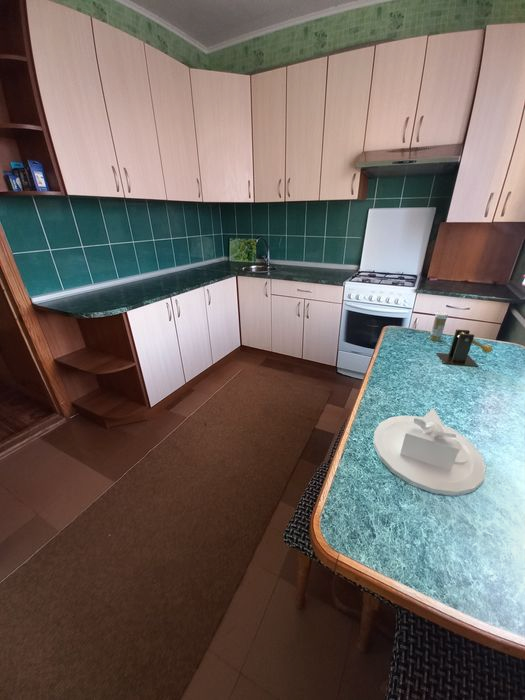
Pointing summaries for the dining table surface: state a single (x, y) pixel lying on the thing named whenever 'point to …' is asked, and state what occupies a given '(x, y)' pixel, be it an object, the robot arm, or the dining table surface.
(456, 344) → the dark grey stand
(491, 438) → the dining table surface
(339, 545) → the dining table surface
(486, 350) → the tap lever
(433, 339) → the sprinkles bottle
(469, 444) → the dish
